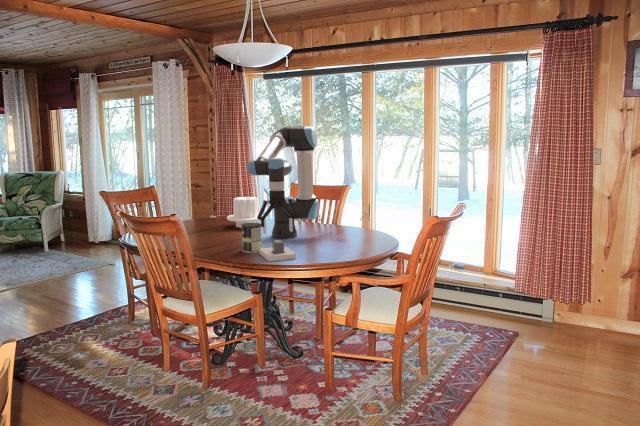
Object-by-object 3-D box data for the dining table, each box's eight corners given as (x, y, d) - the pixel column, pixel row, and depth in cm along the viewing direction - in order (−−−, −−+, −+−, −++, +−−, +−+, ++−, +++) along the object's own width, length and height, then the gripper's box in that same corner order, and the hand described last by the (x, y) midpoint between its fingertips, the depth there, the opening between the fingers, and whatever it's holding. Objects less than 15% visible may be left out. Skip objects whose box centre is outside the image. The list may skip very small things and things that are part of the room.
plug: (272, 256, 262) (272, 240, 260) (281, 255, 263) (281, 239, 262) (275, 258, 258) (275, 242, 256) (284, 257, 259) (283, 241, 258)
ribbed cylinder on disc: (219, 228, 339) (218, 199, 336) (244, 222, 360) (243, 194, 357) (249, 231, 326) (248, 201, 323) (273, 225, 347) (272, 197, 344)
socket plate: (259, 253, 269) (259, 247, 268) (285, 250, 274) (285, 244, 273) (268, 261, 252) (268, 254, 251) (296, 258, 257) (295, 252, 256)
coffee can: (241, 253, 269) (240, 226, 267) (242, 248, 279) (242, 222, 277) (261, 252, 270) (261, 226, 267) (262, 248, 280) (261, 222, 278)
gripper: (253, 192, 248) (255, 235, 251) (303, 189, 256) (304, 231, 260) (250, 190, 255) (251, 232, 258) (298, 187, 263) (299, 228, 267)
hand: (278, 232), depth 259 cm, fingers open, 13 cm apart
